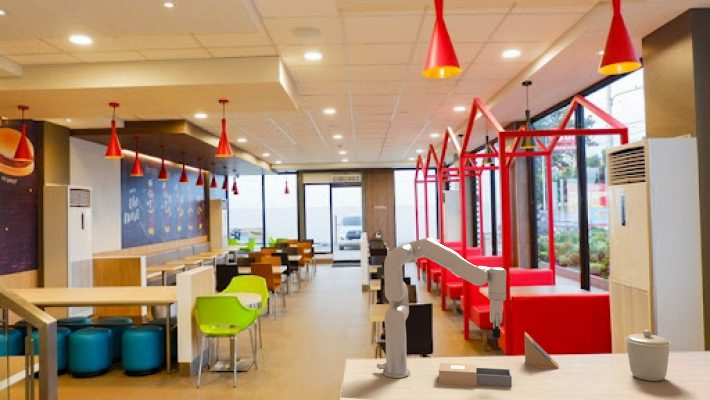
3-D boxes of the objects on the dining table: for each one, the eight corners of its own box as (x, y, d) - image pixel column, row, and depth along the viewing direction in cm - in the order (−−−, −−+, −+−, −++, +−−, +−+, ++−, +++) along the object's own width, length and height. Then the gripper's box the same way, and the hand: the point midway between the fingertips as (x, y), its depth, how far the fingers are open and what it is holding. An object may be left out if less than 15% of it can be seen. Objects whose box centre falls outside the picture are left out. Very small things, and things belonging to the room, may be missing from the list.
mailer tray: (475, 384, 222) (475, 374, 222) (474, 377, 231) (474, 367, 231) (511, 386, 219) (511, 376, 219) (509, 379, 228) (509, 369, 228)
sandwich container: (559, 369, 242) (559, 337, 242) (525, 366, 247) (524, 335, 247) (558, 364, 250) (557, 333, 251) (525, 361, 255) (524, 331, 255)
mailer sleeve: (439, 384, 224) (438, 370, 224) (440, 375, 235) (440, 362, 235) (476, 386, 221) (476, 372, 221) (476, 377, 232) (475, 364, 232)
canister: (669, 373, 234) (668, 327, 234) (674, 386, 217) (673, 336, 217) (624, 368, 241) (623, 323, 241) (626, 381, 225) (625, 332, 225)
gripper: (487, 292, 235) (487, 332, 235) (488, 298, 221) (488, 341, 221) (504, 293, 234) (504, 333, 234) (506, 299, 219) (506, 342, 219)
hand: (496, 337), depth 227 cm, fingers closed
